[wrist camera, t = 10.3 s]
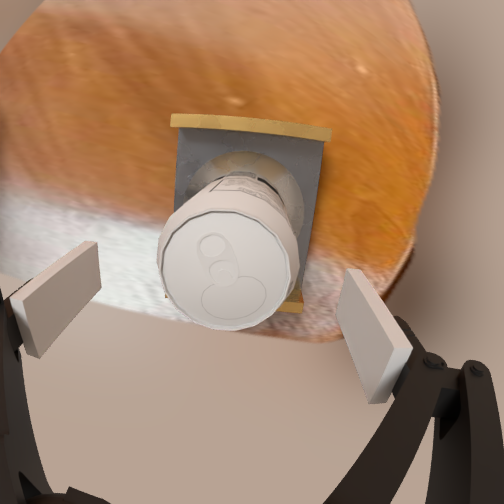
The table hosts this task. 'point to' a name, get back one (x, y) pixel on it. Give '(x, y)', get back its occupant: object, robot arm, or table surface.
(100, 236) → the table surface
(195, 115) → the grey boxy piece
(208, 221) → the supplement can
